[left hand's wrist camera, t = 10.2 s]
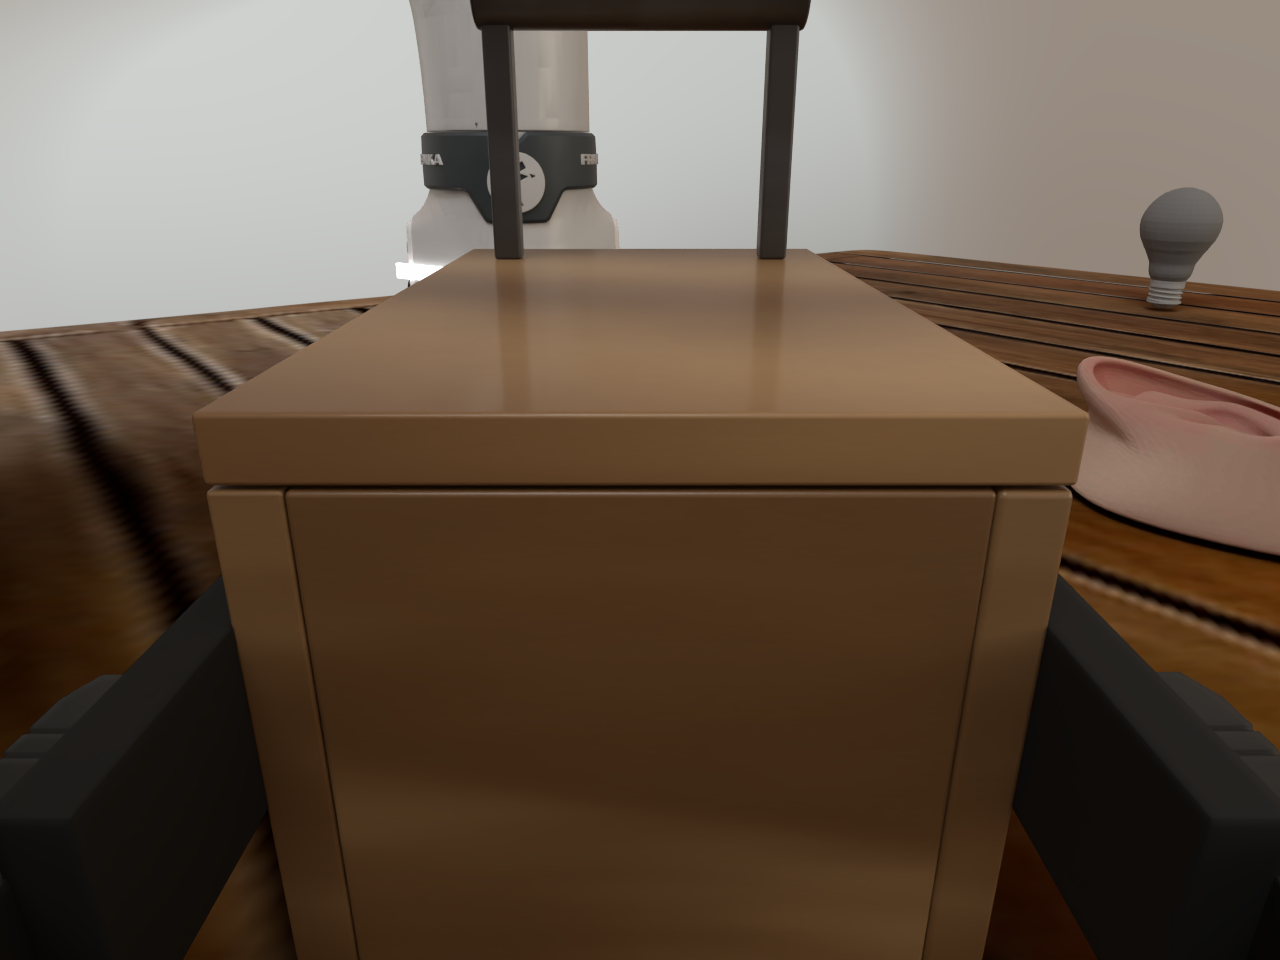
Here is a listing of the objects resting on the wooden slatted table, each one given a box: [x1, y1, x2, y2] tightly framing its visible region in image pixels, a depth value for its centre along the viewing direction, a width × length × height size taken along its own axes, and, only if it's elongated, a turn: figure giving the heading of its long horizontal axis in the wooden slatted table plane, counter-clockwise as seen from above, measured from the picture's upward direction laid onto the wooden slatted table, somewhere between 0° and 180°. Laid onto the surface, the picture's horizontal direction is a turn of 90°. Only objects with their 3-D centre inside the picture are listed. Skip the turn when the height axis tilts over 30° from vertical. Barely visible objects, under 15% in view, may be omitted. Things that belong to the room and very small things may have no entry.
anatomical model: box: [1070, 356, 1280, 556], centre depth 34 cm, size 13×4×12 cm
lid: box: [192, 0, 1089, 485], centre depth 16 cm, size 17×10×8 cm, turn 0°
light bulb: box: [1140, 188, 1223, 308], centre depth 74 cm, size 6×6×10 cm
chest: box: [207, 485, 1073, 960], centre depth 19 cm, size 16×10×10 cm, turn 0°
